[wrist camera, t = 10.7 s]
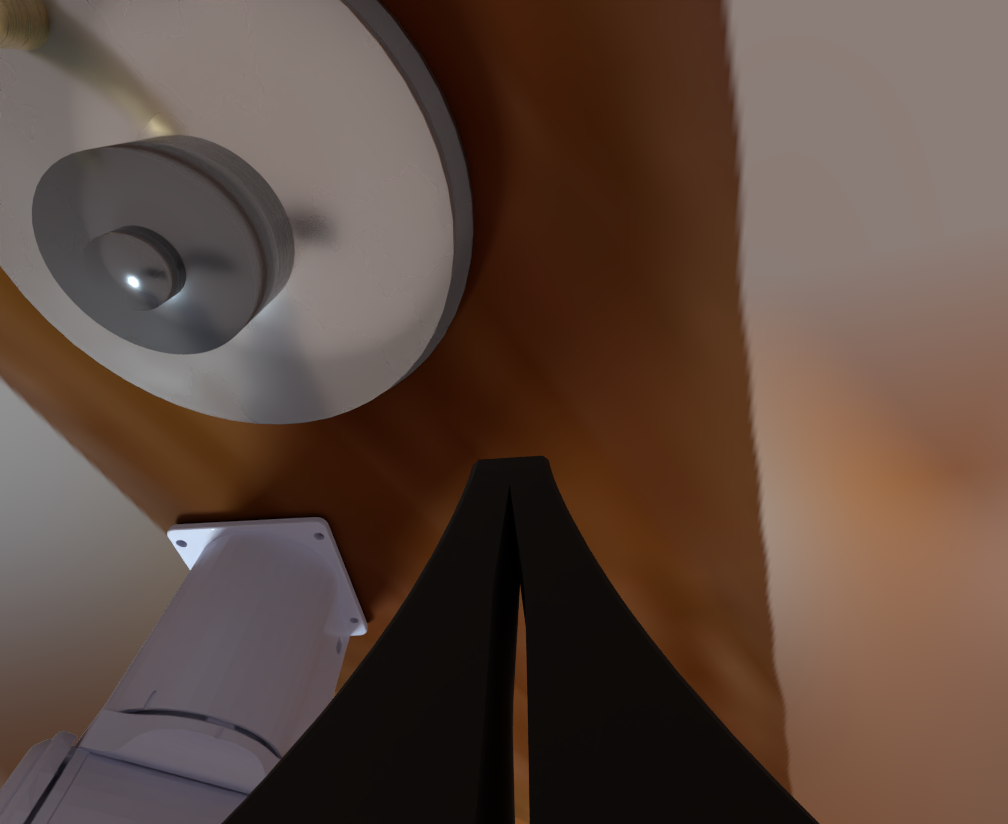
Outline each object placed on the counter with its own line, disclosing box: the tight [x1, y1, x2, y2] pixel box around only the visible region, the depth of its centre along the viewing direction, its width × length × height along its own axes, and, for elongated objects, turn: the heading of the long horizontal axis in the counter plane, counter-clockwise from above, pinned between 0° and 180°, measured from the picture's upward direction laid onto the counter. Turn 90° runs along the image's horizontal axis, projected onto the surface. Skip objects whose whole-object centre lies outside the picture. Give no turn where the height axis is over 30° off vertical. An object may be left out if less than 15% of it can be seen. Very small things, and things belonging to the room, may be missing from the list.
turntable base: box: [346, 0, 475, 391], centre depth 16 cm, size 15×15×1 cm
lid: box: [32, 135, 295, 355], centre depth 13 cm, size 5×5×4 cm
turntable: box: [0, 0, 457, 424], centre depth 14 cm, size 14×14×5 cm
